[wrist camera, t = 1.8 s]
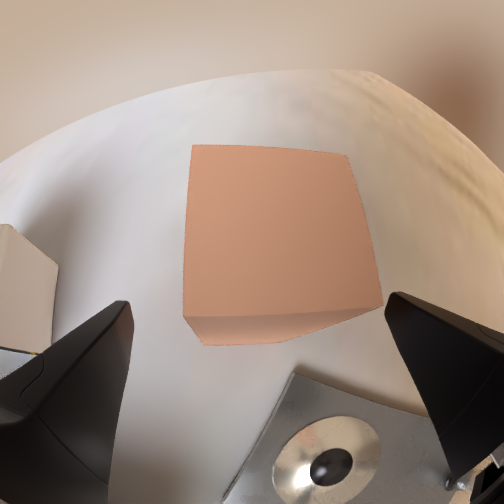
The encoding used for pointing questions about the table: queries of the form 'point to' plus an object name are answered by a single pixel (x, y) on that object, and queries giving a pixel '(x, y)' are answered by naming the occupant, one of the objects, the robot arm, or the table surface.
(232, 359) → the table surface
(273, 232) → the post
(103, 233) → the table surface
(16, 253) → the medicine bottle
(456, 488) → the steel pin
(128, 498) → the table surface
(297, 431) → the drilled plate
